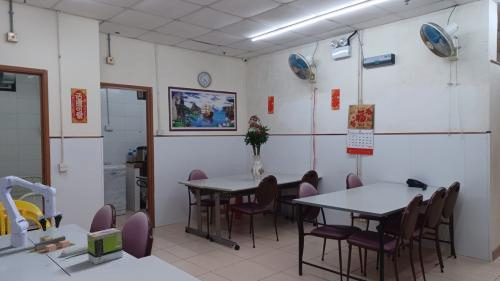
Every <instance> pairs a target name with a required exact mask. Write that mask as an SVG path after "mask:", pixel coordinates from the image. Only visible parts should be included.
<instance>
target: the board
mask: <svg viewBox="0 0 500 281" xmlns="http://www.w3.org/2000/svg"><path fill="white" fill-rule="evenodd" d="M75 245H77V244H76V243H72V242H69V246H68V247H65V248H69V247H72V246H75ZM65 248H61V247H59V245H57V246H56V250H55V251H52V252H47V251H45V249H43V250H40V251H35V246H34V247H29V248H27V249H25V251H29V252H32V253H36V254H40V255H46V254H50V253H53V252H56V251H59V250H62V249H63V250H64V249H65Z"/></svg>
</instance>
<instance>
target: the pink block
mask: <svg viewBox="0 0 500 281" xmlns="http://www.w3.org/2000/svg"><path fill="white" fill-rule="evenodd" d="M55 250H56V245H55V244H50V245H47V246H45V251H47V252H50V253H53V252H56V251H57V250H56V251H55ZM52 251H53V252H52Z"/></svg>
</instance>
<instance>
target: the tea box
mask: <svg viewBox="0 0 500 281" xmlns="http://www.w3.org/2000/svg"><path fill="white" fill-rule="evenodd" d="M86 236H87V238H86V239H87V244H88V253H87V256H88V257H87V258H88V261H90V262H91V263H92V264H94V265H97V264H101V263H105V262H108V261H111V260H115V259H119V258H123V257H124V256H123V255H124V254H123V239H122V231H121V230H120V229H117V228H114V227H112V228H108V229H103V230H100V231H94V232H90V233H87V234H86Z"/></svg>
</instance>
